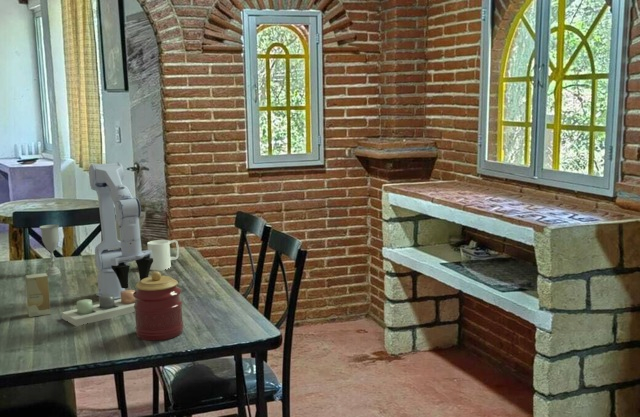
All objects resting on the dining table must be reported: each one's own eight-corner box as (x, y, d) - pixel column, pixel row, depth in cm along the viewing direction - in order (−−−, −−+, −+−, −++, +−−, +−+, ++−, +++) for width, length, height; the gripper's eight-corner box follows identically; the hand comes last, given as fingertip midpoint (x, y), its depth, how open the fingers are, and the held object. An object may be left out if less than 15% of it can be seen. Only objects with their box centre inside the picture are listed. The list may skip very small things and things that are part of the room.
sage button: (74, 311, 211) (74, 301, 211) (89, 308, 214) (88, 298, 214) (81, 315, 208) (80, 304, 207) (95, 311, 211) (94, 301, 210)
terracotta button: (118, 301, 220) (117, 291, 220) (131, 298, 223) (130, 289, 223) (125, 304, 217) (124, 294, 217) (138, 301, 220) (137, 291, 220)
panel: (62, 318, 212) (61, 312, 211) (135, 301, 228) (135, 295, 227) (76, 326, 204) (75, 319, 204) (151, 308, 220) (150, 301, 220)
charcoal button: (97, 306, 216) (96, 296, 215) (110, 303, 219) (110, 293, 218) (103, 309, 213) (102, 299, 212) (117, 306, 215) (116, 296, 215)
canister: (140, 344, 188) (135, 279, 185) (132, 330, 200) (128, 269, 197) (188, 336, 193) (185, 273, 191) (178, 323, 205) (174, 263, 202)
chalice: (67, 272, 268) (63, 225, 265) (52, 276, 262) (47, 228, 259) (55, 270, 272) (50, 224, 269) (39, 274, 266) (35, 227, 263)
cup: (183, 267, 271) (181, 241, 270) (151, 271, 266) (150, 245, 264) (177, 263, 279) (176, 238, 277) (146, 267, 273) (145, 241, 272)
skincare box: (29, 317, 214) (25, 278, 212) (27, 313, 218) (23, 275, 216) (51, 314, 217) (48, 275, 215) (49, 310, 221) (46, 272, 219)
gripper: (121, 244, 200) (125, 291, 202) (158, 236, 212) (161, 280, 214) (104, 243, 204) (108, 289, 205) (141, 235, 216) (145, 279, 218)
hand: (134, 285), depth 210 cm, fingers open, 7 cm apart
